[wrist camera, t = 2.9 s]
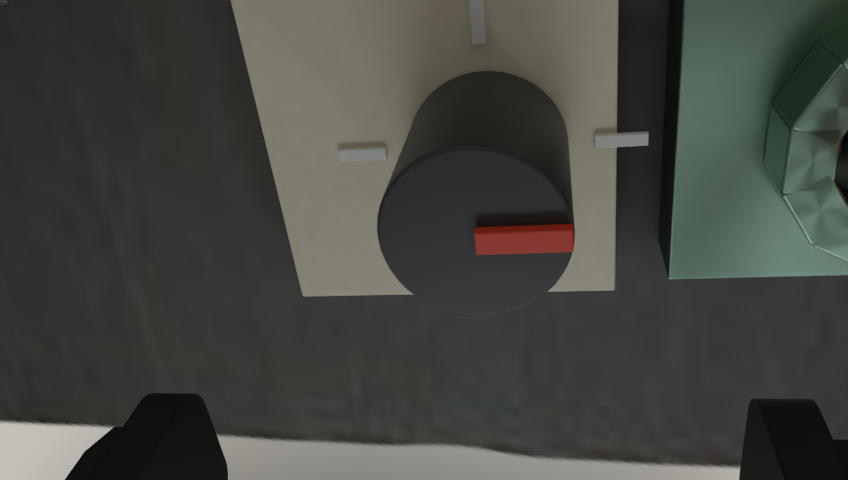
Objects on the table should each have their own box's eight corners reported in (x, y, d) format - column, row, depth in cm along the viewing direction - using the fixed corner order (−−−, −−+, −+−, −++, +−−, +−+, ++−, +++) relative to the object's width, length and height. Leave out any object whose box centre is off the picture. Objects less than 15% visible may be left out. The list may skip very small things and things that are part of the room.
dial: (419, 218, 22) (388, 326, 18) (400, 75, 20) (358, 157, 15) (569, 212, 21) (577, 324, 17) (566, 63, 19) (574, 145, 15)
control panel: (317, 264, 26) (301, 300, 24) (251, -32, 21) (223, -16, 19) (635, 255, 24) (642, 293, 22) (644, -73, 19) (655, -59, 17)
